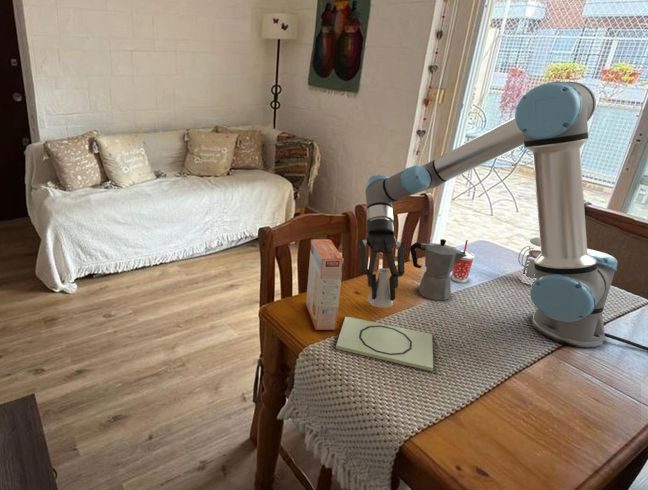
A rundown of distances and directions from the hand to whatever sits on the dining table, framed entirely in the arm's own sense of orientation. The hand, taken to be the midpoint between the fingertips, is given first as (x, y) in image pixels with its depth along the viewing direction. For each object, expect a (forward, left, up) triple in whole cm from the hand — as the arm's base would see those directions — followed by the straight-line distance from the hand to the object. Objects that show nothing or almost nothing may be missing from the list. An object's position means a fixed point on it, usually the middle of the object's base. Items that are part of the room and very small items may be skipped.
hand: (383, 298), depth 121 cm
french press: (-44, -43, -6) cm, 62 cm away
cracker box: (+16, +8, -6) cm, 18 cm away
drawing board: (-2, +13, -6) cm, 15 cm away
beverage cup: (-22, -35, -6) cm, 41 cm away
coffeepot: (-13, -21, -6) cm, 25 cm away
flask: (+1, -4, -3) cm, 5 cm away
